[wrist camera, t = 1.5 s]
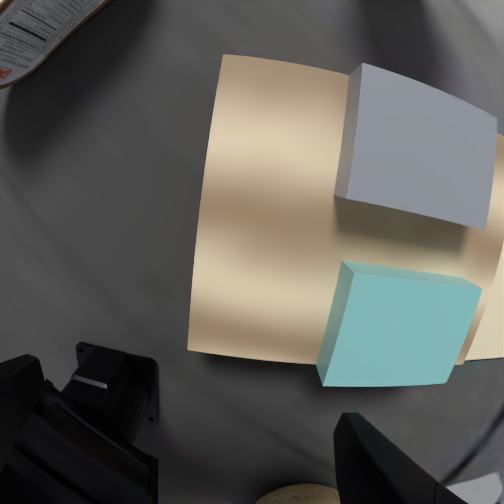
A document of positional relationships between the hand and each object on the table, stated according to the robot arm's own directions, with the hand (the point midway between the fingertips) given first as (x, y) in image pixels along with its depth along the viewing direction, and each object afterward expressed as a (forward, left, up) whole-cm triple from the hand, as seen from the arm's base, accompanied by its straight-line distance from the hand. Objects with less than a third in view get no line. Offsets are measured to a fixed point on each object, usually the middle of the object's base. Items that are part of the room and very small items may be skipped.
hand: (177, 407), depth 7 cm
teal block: (0, -10, -8) cm, 13 cm away
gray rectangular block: (+9, -9, -8) cm, 15 cm away
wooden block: (+4, -8, -12) cm, 15 cm away
